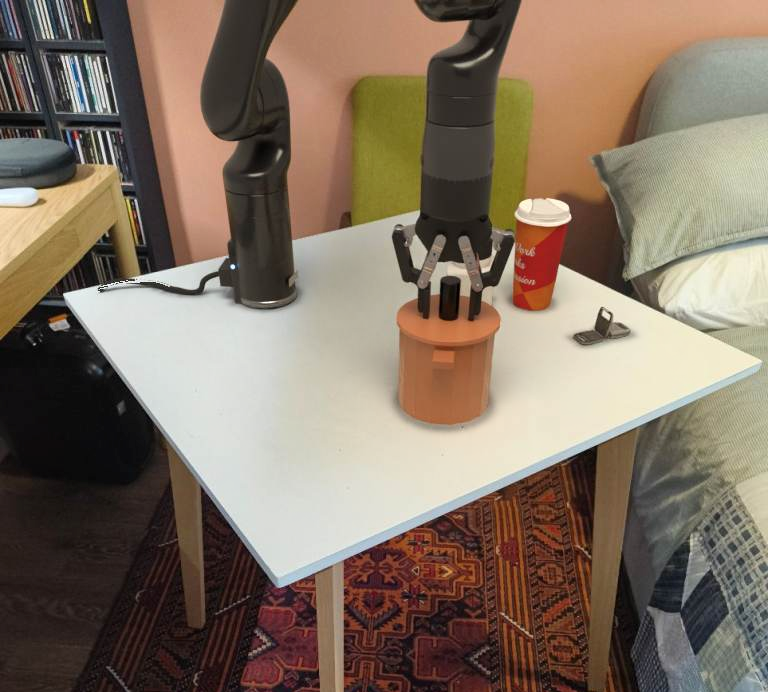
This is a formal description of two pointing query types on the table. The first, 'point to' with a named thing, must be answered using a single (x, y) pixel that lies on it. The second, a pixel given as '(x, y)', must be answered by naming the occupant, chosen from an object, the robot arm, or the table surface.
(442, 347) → the pot
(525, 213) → the coffee cup
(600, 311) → the strap clip
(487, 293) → the medicine bottle
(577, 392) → the table surface
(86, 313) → the table surface
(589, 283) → the table surface
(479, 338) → the lid
